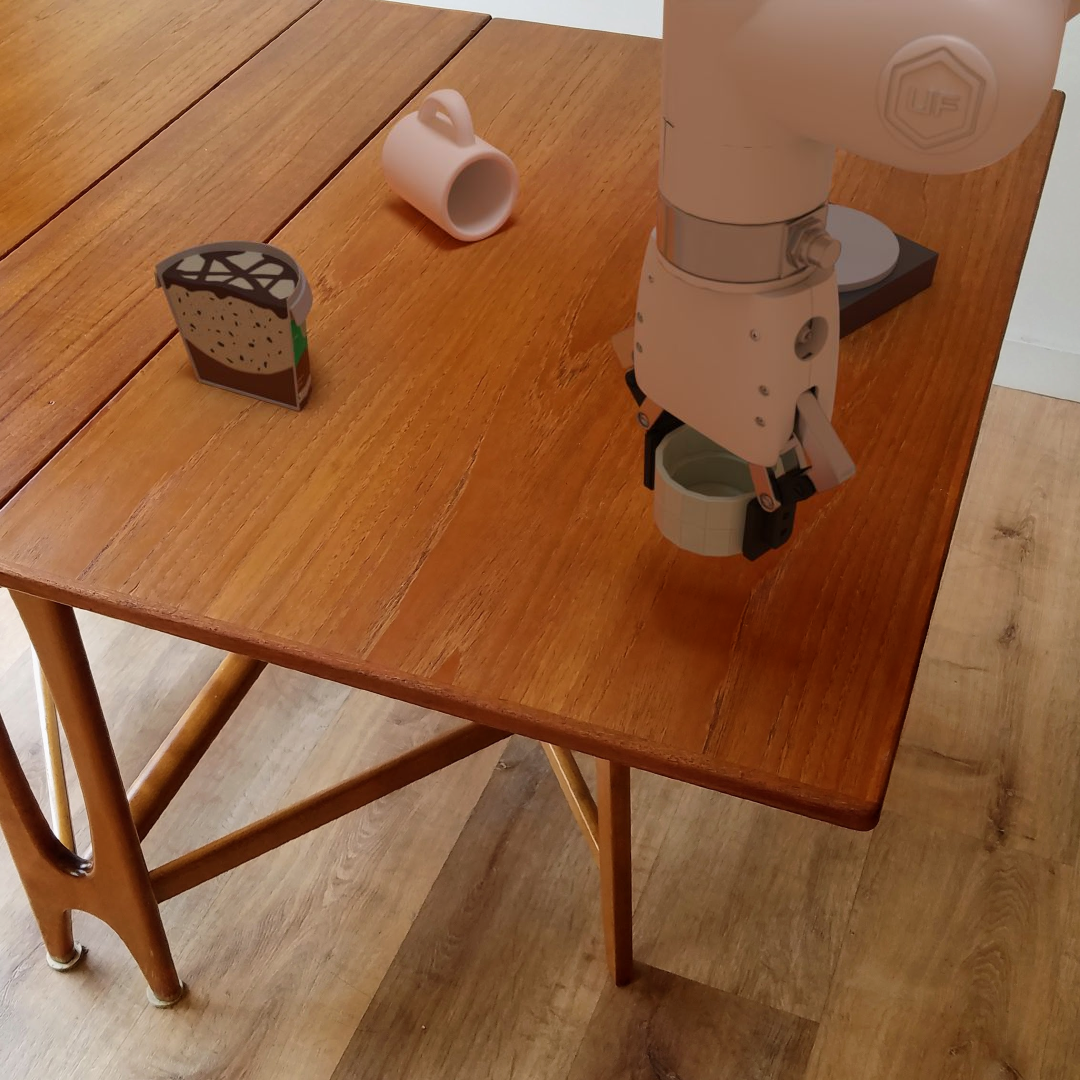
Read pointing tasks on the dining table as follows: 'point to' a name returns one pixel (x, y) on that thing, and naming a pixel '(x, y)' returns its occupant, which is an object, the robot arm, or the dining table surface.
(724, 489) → the bowl
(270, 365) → the food container
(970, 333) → the dining table surface
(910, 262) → the scale
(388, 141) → the mug
